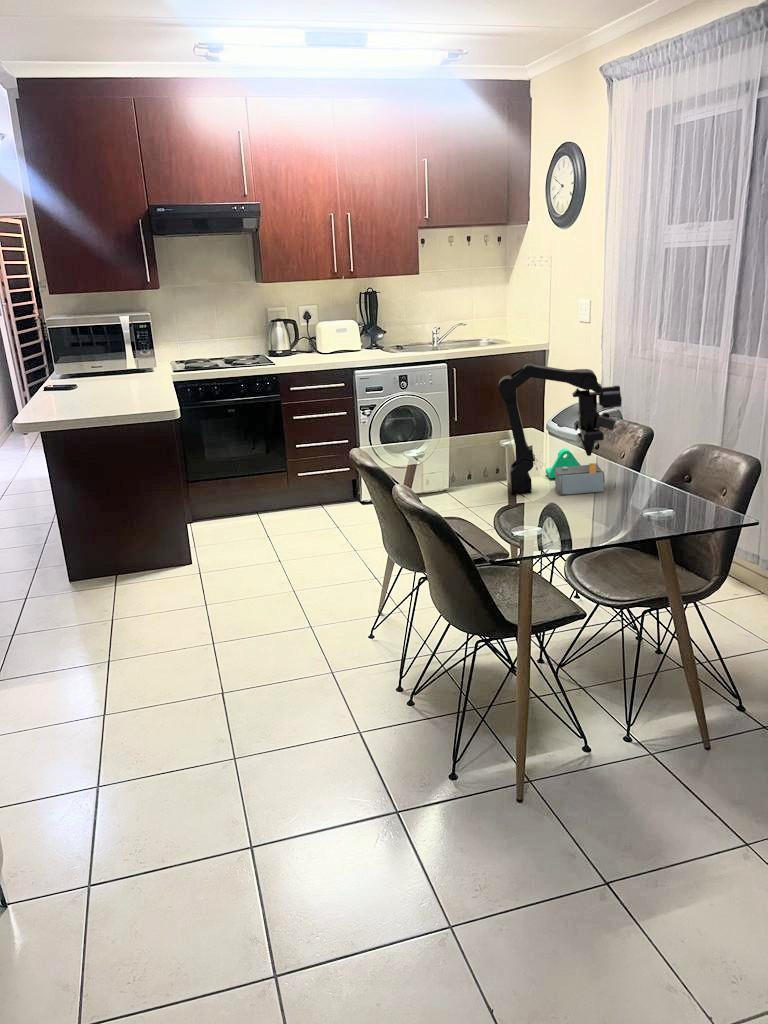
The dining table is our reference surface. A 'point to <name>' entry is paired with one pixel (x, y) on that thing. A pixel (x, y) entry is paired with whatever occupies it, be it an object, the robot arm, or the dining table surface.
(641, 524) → the dining table surface
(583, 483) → the side door
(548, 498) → the dining table surface
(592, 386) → the robot arm
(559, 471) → the camera body
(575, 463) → the camera mount
